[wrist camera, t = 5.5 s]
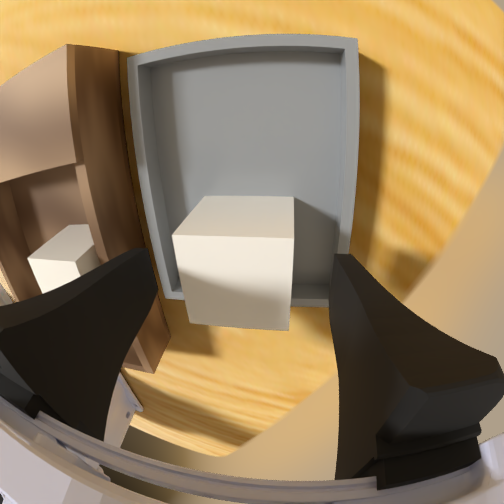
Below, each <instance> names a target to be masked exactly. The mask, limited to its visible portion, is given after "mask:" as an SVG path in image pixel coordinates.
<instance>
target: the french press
mask: <svg viewBox="0 0 504 504" xmlns="http://www.w3.org/2000/svg"><path fill="white" fill-rule="evenodd" d="M12 303H13V302H12V300H11V299H10V297H9V296H8V294H7V293H6V291H5V290H4V288H3V286H2V285H1V284H0V306H3V305H8V304H12Z"/></svg>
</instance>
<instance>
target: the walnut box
mask: <svg viewBox="0 0 504 504" xmlns="http://www.w3.org/2000/svg"><path fill="white" fill-rule="evenodd" d="M81 224H88V225H89V229H90V232H91V236H92V239H93V242H94V246H95V249H96V252H97V255H98V258H99V262H100V265H102V264H104V263H106V262H107V261H109V260H111V259H113V258H115V257H117V256H118V255H120V254H122V253H124V252H127V251H129V250H131V249H134V248H145V244H144V239H143V235H142V231H141V226H140V221H139V217H138V212H137V207H136V202H135V196H134V191H133V185H132V180H131V174H130V167H129V161H128V154H127V147H126V139H125V131H124V122H123V113H122V102H121V89H120V72H119V51H117V50H111V49H105V48H98V47H90V46H82V45H71V44H66V45H64V46H62V47H60V48H58V49H57V50H55V51H53V52H51V53H49V54H48V55H46V56H44V57H43V58H41V59H39V60H38V61H36V62H34V63H33V64H31V65H30V66H28V67H27V68H25V69H24V70H22V71H21V72H19V73H18V74H16V75H15V76H13V77H12V78H11V79H9V80H8V81H6V82H5V83H4V84H2V85H1V86H0V268H1V271H2V273H3V275H4V278H5V280H6V282H7V284H8V286H9V288H10V290H11V292H12V294H13V296H14V298H15V300H16V302H19V301H23V300H26V299H29V298H32V297H35V296H38V295H40V294H43V293H42V291H41V289H40V287H39V285H38V282H37V280H36V278H35V275H34V273H33V271H32V268H31V266H30V263H29V261H28V257H29V256H30V255H32V254H33V253H34V252H35V251H36V250H38V249H39V248H40V247H41V246H43V245H44V244H45V243H46V242H47V241H49V240H50V239H51V238H53V237H54V236H55V235H56V234H58V233H59V232H60V231H62V230H63V229H64V228H66V227H67V226H68V225H81ZM170 337H171V336H170V333H169V330H168V327H167V324H166V320H165V317H164V314H163V311H162V307H161V304H160V301H159V297H158V294H157V295H156V297H155V300H154V303H153V305H152V308H151V310H150V312H149V314H148V316H147V317H146V319H145V321H144V323H143V325H142V327H141V328H140V330H139V332H138V334H137V336H136V337H135V339H134V341H133V343H132V345H131V347H130V349H129V351H128V353H127V355H126V357H125V359H124V362H123V365H122V367H125V368H130V369H134V370H138V371H143V372H147V373H152V374H154V373H155V371H156V368H157V366H158V364H159V362H160V359H161V357H162V355H163V353H164V351H165V348H166V346H167V344H168V342H169V340H170Z"/></svg>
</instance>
